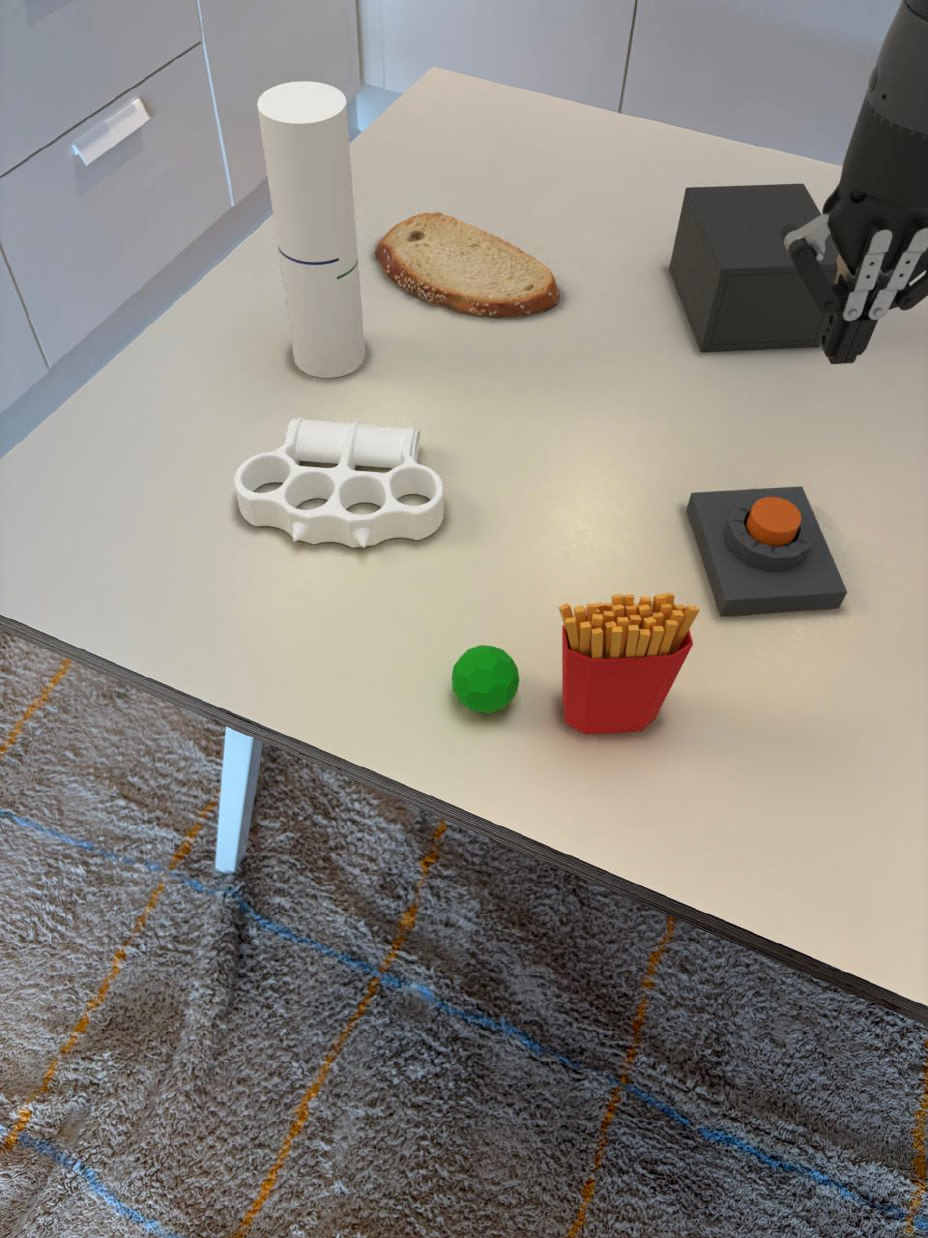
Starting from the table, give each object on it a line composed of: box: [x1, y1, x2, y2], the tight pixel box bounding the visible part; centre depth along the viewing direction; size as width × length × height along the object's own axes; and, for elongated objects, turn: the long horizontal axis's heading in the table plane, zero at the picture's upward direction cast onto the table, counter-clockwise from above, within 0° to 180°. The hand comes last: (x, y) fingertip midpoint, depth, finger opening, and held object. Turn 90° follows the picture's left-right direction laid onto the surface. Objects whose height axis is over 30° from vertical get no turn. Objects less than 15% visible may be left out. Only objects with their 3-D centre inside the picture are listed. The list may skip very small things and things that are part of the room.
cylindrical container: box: [256, 80, 366, 379], centre depth 90 cm, size 7×7×25 cm
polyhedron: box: [451, 644, 520, 714], centre depth 74 cm, size 5×5×5 cm
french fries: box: [558, 592, 701, 735], centre depth 70 cm, size 9×4×13 cm, turn 94°
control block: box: [686, 485, 848, 617], centre depth 83 cm, size 12×10×4 cm
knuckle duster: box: [233, 416, 445, 549], centre depth 87 cm, size 3×18×15 cm
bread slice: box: [374, 211, 561, 319], centre depth 108 cm, size 18×18×4 cm
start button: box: [747, 497, 801, 546], centre depth 81 cm, size 4×4×2 cm
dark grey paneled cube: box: [668, 183, 839, 353], centre depth 103 cm, size 15×13×10 cm
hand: (837, 356), depth 68 cm, fingers closed
